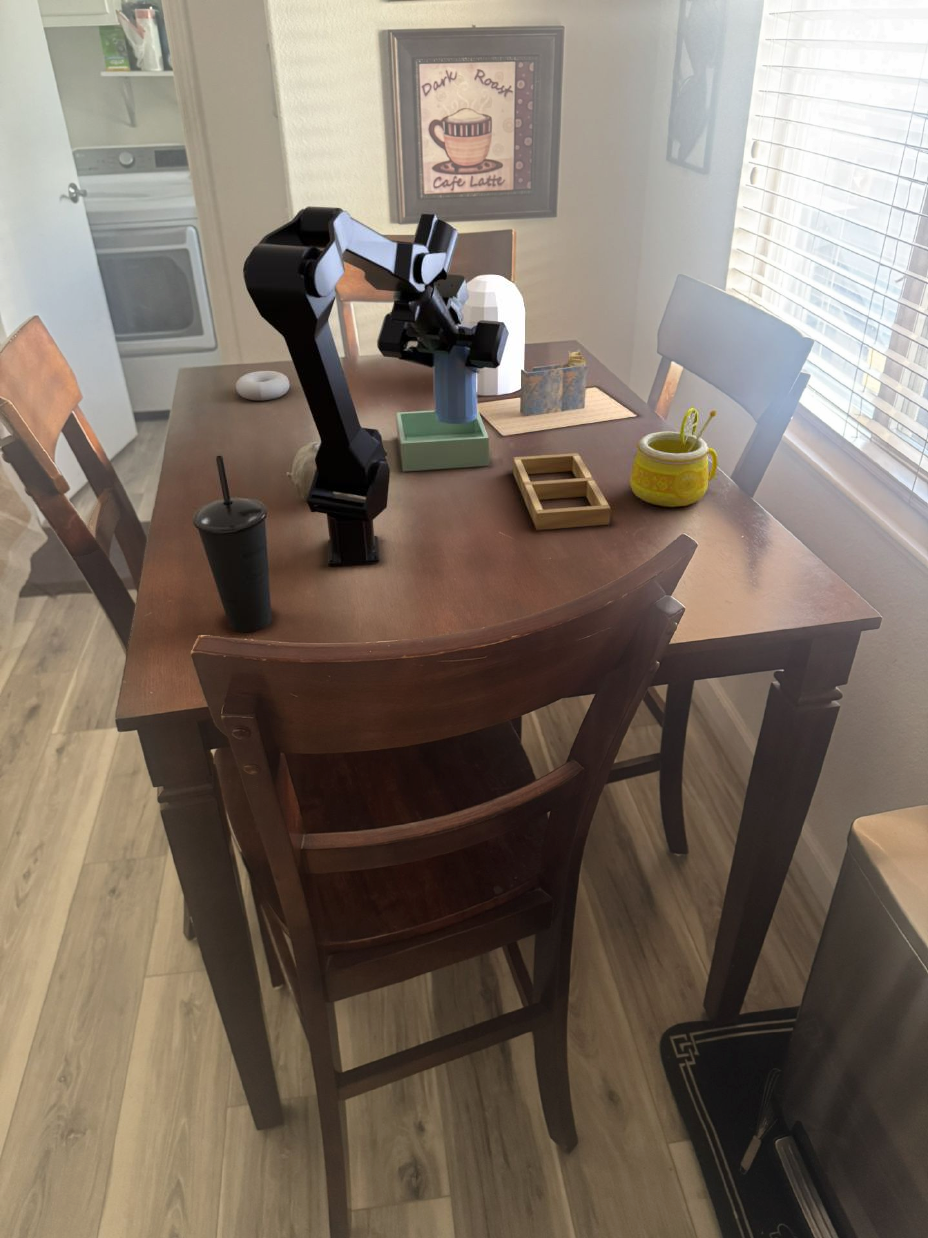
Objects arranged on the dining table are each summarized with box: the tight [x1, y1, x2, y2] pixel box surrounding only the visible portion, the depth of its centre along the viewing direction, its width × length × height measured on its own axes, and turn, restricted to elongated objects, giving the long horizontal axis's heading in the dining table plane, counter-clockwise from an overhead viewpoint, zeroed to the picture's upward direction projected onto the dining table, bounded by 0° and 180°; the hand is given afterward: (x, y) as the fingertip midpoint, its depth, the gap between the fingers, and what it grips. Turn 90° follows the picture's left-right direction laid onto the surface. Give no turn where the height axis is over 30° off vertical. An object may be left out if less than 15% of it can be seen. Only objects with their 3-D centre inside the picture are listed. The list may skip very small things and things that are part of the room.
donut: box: [235, 370, 291, 402], centre depth 162 cm, size 10×4×10 cm
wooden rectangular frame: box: [512, 452, 611, 531], centre depth 123 cm, size 19×10×2 cm, turn 7°
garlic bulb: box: [286, 441, 349, 501], centre depth 122 cm, size 9×8×10 cm
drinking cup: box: [192, 455, 272, 633], centre depth 92 cm, size 8×8×20 cm
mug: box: [629, 407, 719, 508], centre depth 120 cm, size 13×11×12 cm
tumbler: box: [432, 326, 478, 424], centre depth 130 cm, size 7×7×13 cm
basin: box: [395, 409, 490, 472], centre depth 137 cm, size 13×13×5 cm
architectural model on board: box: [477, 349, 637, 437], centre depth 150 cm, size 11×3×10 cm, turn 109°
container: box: [458, 274, 526, 397], centre depth 160 cm, size 14×13×20 cm
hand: (458, 368), depth 131 cm, fingers closed on tumbler, 7 cm apart
